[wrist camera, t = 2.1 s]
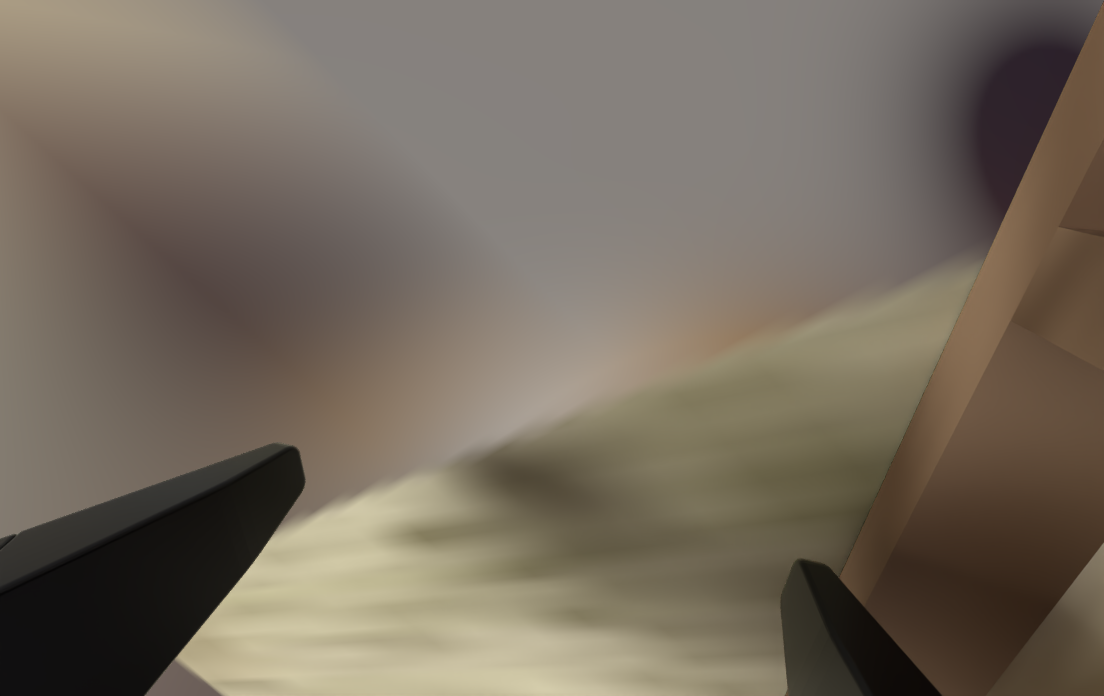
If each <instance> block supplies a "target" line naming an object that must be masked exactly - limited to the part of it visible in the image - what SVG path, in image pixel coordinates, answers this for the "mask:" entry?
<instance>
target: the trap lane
mask: <svg viewBox="0 0 1104 696" xmlns="http://www.w3.org/2000/svg"><path fill="white" fill-rule="evenodd" d="M1103 543H1104V2H1103V4H1102V6H1101V8H1100V11H1099V13H1098V15H1097V17H1096V19H1095V22H1094V24H1093V26H1092V28H1091V30H1090V32H1089V34H1088V37H1087V39H1086V41H1085V43H1084V46H1083V48H1082V50H1081V52H1080V54H1079V56H1078V58H1077V61H1076V63H1075V65H1074V67H1073V69H1072V72H1071V74H1070V76H1069V78H1068V80H1067V83H1066V85H1065V87H1064V89H1063V91H1062V93H1061V96H1060V98H1059V100H1058V102H1057V104H1056V106H1055V109H1054V111H1053V113H1052V115H1051V117H1050V119H1049V122H1048V124H1047V126H1046V128H1045V130H1044V133H1043V135H1042V137H1041V139H1040V141H1039V143H1038V146H1037V148H1036V150H1035V152H1034V154H1033V157H1032V159H1031V161H1030V163H1029V165H1028V168H1027V170H1026V172H1025V174H1024V176H1023V178H1022V180H1021V183H1020V185H1019V187H1018V189H1017V192H1016V194H1015V196H1014V198H1013V200H1012V202H1011V205H1010V207H1009V209H1008V211H1007V213H1006V216H1005V218H1004V220H1003V222H1002V224H1001V226H1000V229H999V231H998V233H997V235H996V237H995V239H994V241H993V244H992V246H991V248H990V250H989V252H988V255H987V257H986V259H985V261H984V263H983V265H982V268H981V270H980V272H979V274H978V276H977V279H976V281H975V283H974V285H973V287H972V289H971V292H970V294H969V296H968V298H967V300H966V303H965V305H964V307H963V309H962V311H961V313H960V316H959V318H958V320H957V322H956V324H955V326H954V329H953V331H952V333H951V335H950V337H949V340H948V342H947V344H946V346H945V348H944V350H943V353H942V355H941V357H940V359H939V361H938V364H937V366H936V368H935V370H934V372H933V374H932V377H931V379H930V381H929V383H928V385H927V387H926V390H925V392H924V394H923V396H922V398H921V401H920V403H919V405H918V407H917V409H916V411H915V414H914V416H913V418H912V420H911V422H910V425H909V427H908V429H907V431H906V433H905V435H904V438H903V440H902V442H901V444H900V446H899V449H898V451H897V453H896V455H895V457H894V459H893V462H892V464H891V466H890V468H889V470H888V472H887V475H886V477H885V479H884V481H883V483H882V486H881V488H880V490H879V492H878V494H877V496H876V499H875V501H874V503H873V505H872V507H871V510H870V512H869V514H868V516H867V518H866V520H865V523H864V525H863V527H862V529H861V531H860V534H859V536H858V538H857V540H856V542H855V544H854V547H853V549H852V551H851V553H850V555H849V557H848V560H847V562H846V564H845V566H844V568H843V571H842V573H841V575H840V577H839V579H840V580H841V581H842V582H843V583H844V584H845V586H846V587H847V588H848V589H849V590H850V591H851V592H852V593H853V595H854V596H855V597H856V598H857V599H858V600H859V601H860V603H861V604H862V605H863V606H864V607H865V608H866V609H867V610H868V612H869V613H870V614H871V615H872V616H873V617H874V618H875V620H876V621H877V622H878V623H879V624H880V625H881V626H882V627H883V629H884V630H885V631H886V632H887V633H888V634H889V635H890V637H891V638H892V639H893V640H894V641H895V642H896V643H897V644H898V646H899V647H900V648H901V649H902V650H903V651H904V652H905V654H906V655H907V656H908V657H909V658H910V659H911V660H912V661H913V663H914V664H915V665H916V666H917V667H918V668H919V669H920V671H921V672H922V673H923V674H924V675H925V676H926V677H927V678H928V680H929V681H930V682H931V683H932V684H933V685H934V686H935V688H936V689H937V690H938V691H939V692H940V693H941V694H942V695H943V696H986V695H987V693H988V692H989V691H990V689H991V688H992V687H993V686H994V684H995V683H996V682H997V680H998V679H999V678H1000V677H1001V675H1002V674H1003V673H1004V671H1005V670H1006V669H1007V667H1008V666H1009V665H1010V664H1011V662H1012V661H1013V660H1014V658H1015V657H1016V656H1017V655H1018V653H1019V652H1020V651H1021V649H1022V648H1023V647H1024V645H1025V644H1026V643H1027V642H1028V640H1029V639H1030V638H1031V636H1032V635H1033V634H1034V632H1035V631H1036V630H1037V629H1038V627H1039V626H1040V625H1041V623H1042V622H1043V621H1044V620H1045V618H1046V617H1047V616H1048V614H1049V613H1050V612H1051V610H1052V609H1053V608H1054V607H1055V605H1056V604H1057V603H1058V601H1059V600H1060V599H1061V598H1062V596H1063V595H1064V594H1065V592H1066V591H1067V590H1068V588H1069V587H1070V586H1071V585H1072V583H1073V582H1074V581H1075V579H1076V578H1077V577H1078V575H1079V574H1080V573H1081V572H1082V570H1083V569H1084V568H1085V566H1086V565H1087V564H1088V563H1089V561H1090V560H1091V559H1092V557H1093V556H1094V555H1095V553H1096V552H1097V551H1098V550H1099V548H1100V547H1101V546H1102V544H1103ZM785 696H788V690H787V693H786V695H785Z"/></svg>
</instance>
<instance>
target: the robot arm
mask: <svg viewBox="0 0 1104 696" xmlns="http://www.w3.org/2000/svg"><path fill="white" fill-rule="evenodd" d="M304 486H305V474H304V469H303V465H302V460H301V455H300V452H299V450H298V448H297V447H295V446H293V445H288V444H284V443H272V444H269V445H266V446H263V447H261V448H258V449H255V450H252V451H249V452H246V453H243V454H241V455H238V456H235V457H232V458H229V459H226V460H224V461H221V462H218V463H215V464H212V465H209V466H207V467H204V468H201V469H198V470H195V471H192V472H189V473H186V474H184V475H181V476H178V477H175V478H172V479H170V480H166V481H164V482H161V483H158V484H155V485H152V486H149V487H147V488H144V489H141V490H138V491H135V492H132V493H129V494H127V495H124V496H121V497H118V498H115V499H112V500H110V501H107V502H104V503H101V504H98V505H95V506H93V507H89V508H87V509H84V510H81V511H78V512H75V513H72V514H70V515H67V516H64V517H61V518H58V519H55V520H53V521H50V522H47V523H44V524H41V525H38V526H35V527H33V528H30V529H27V530H24V531H21V532H20V533H19V534H18V535H16V534H12V535H9V536H7V537H4V538H1V539H0V696H145V695H146V694H147V692H148V691H149V690H150V689H151V687H152V686H153V685H154V684H155V683H156V681H157V680H158V679H159V678H160V676H161V675H162V674H163V673H164V672H165V670H166V669H167V668H168V667H169V665H170V664H171V663H172V662H173V661H174V659H175V658H176V657H177V656H178V655H179V653H180V652H181V651H182V650H183V648H184V647H185V646H186V645H187V644H188V642H189V641H190V640H191V639H192V637H193V636H194V635H195V634H196V633H197V631H198V630H199V629H200V628H201V626H202V625H203V624H204V623H205V622H206V620H207V619H208V618H209V617H210V615H211V614H212V613H213V612H214V611H215V609H216V608H217V607H218V606H219V604H220V603H221V602H222V601H223V600H224V598H225V597H226V596H227V595H228V593H229V592H230V591H231V590H232V589H233V587H234V586H235V585H236V584H237V582H238V581H239V580H240V579H241V578H242V576H243V575H244V574H245V573H246V571H247V570H248V569H249V568H250V566H251V565H252V564H253V562H254V561H255V560H256V558H257V557H258V555H259V554H260V553H261V551H262V550H263V548H264V547H265V545H266V544H267V543H268V541H269V540H270V538H271V537H272V535H273V534H274V532H275V531H276V529H277V528H278V526H279V525H280V524H281V522H282V521H283V519H284V518H285V516H286V515H287V513H288V512H289V510H290V509H291V507H292V506H293V505H294V503H295V502H296V500H297V499H298V497H299V496H300V494H301V493H302V491H303V489H304ZM781 619H782V630H783V641H784V652H785V663H786V674H787V685H788V696H943V695H942V694H941V693H940V692H939V691H938V690H937V689H936V688H935V686H934V685H933V684H932V683H931V682H930V681H929V680H928V678H927V677H926V676H925V675H924V674H923V673H922V672H921V671H920V669H919V668H918V667H917V666H916V665H915V664H914V663H913V661H912V660H911V659H910V658H909V657H908V656H907V655H906V654H905V652H904V651H903V650H902V649H901V648H900V647H899V646H898V644H897V643H896V642H895V641H894V640H893V639H892V638H891V637H890V635H889V634H888V633H887V632H886V631H885V630H884V629H883V627H882V626H881V625H880V624H879V623H878V622H877V621H876V620H875V618H874V617H873V616H872V615H871V614H870V613H869V612H868V610H867V609H866V608H865V607H864V606H863V605H862V604H861V603H860V601H859V600H858V599H857V598H856V597H855V596H854V595H853V593H852V592H851V591H850V590H849V589H848V588H847V587H846V586H845V584H844V583H843V582H842V581H841V580H840V579H839V578H838V576H837V575H836V574H835V573H834V572H833V571H832V570H831V569H830V568H829V567H828V566H827V565H825V564H823V563H820V562H815V561H811V560H806V559H797V560H796V561H795V562H794V564H793V566H792V568H791V571H790V574H789V576H788V579H787V581H786V584H785V586H784V589H783V592H782V595H781Z"/></svg>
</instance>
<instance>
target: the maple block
mask: <svg viewBox="0 0 1104 696" xmlns="http://www.w3.org/2000/svg"><path fill="white" fill-rule="evenodd" d="M986 696H1104V543H1103V544H1102V546H1101V547H1100V548H1099V550H1098V551H1097V552H1096V553H1095V555H1094V556H1093V557H1092V559H1091V560H1090V561H1089V563H1088V564H1087V565H1086V566H1085V568H1084V569H1083V570H1082V572H1081V573H1080V574H1079V575H1078V577H1077V578H1076V579H1075V581H1074V582H1073V583H1072V585H1071V586H1070V587H1069V588H1068V590H1067V591H1066V592H1065V594H1064V595H1063V596H1062V598H1061V599H1060V600H1059V601H1058V603H1057V604H1056V605H1055V607H1054V608H1053V609H1052V610H1051V612H1050V613H1049V614H1048V616H1047V617H1046V618H1045V620H1044V621H1043V622H1042V623H1041V625H1040V626H1039V627H1038V629H1037V630H1036V631H1035V632H1034V634H1033V635H1032V636H1031V638H1030V639H1029V640H1028V642H1027V643H1026V644H1025V645H1024V647H1023V648H1022V649H1021V651H1020V652H1019V653H1018V655H1017V656H1016V657H1015V658H1014V660H1013V661H1012V662H1011V664H1010V665H1009V666H1008V667H1007V669H1006V670H1005V671H1004V673H1003V674H1002V675H1001V677H1000V678H999V679H998V680H997V682H996V683H995V684H994V686H993V687H992V688H991V689H990V691H989V692H988V693H987V695H986Z"/></svg>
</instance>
